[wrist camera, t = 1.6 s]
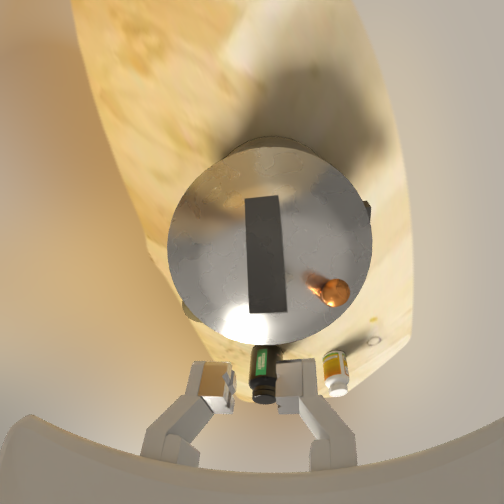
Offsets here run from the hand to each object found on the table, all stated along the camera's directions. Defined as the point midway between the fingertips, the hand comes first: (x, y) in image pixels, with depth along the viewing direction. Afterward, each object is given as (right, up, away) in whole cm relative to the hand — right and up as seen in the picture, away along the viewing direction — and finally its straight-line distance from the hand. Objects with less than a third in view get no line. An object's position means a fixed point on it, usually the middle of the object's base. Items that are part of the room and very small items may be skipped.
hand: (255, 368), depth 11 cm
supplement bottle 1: (+3, -17, +48) cm, 51 cm away
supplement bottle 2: (+19, -19, +48) cm, 55 cm away
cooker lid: (+1, +6, +12) cm, 13 cm away
